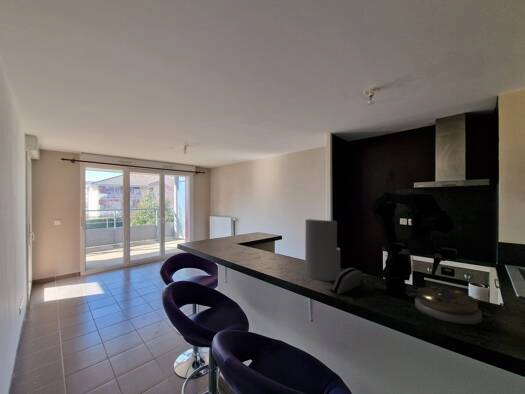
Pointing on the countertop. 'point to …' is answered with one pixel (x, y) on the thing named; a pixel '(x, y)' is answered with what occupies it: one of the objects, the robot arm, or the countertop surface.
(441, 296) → the shallow round tray
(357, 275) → the dark grey curved piece
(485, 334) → the countertop surface
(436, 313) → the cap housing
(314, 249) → the cylinder
